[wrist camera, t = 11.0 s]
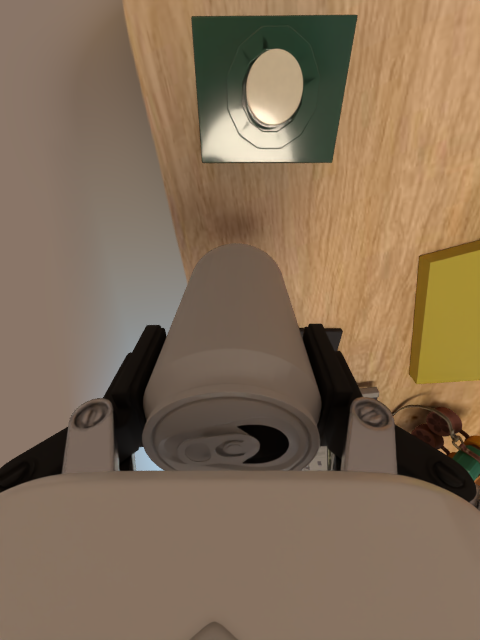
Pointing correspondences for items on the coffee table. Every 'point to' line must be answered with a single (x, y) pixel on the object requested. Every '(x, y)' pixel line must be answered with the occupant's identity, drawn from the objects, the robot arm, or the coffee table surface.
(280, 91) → the cylinder
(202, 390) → the beverage can
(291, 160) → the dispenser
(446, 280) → the flat olive board
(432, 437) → the binoculars
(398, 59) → the coffee table surface
